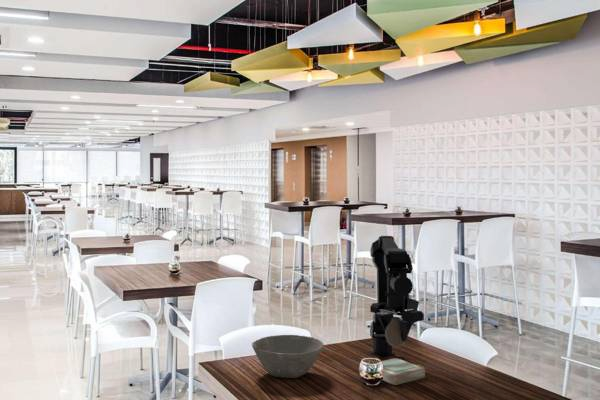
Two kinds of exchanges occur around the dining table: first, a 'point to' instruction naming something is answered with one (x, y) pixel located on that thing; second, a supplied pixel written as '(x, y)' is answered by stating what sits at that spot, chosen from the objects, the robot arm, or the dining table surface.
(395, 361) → the plinth
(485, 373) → the dining table surface
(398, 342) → the vase
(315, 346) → the ceramic bowl
